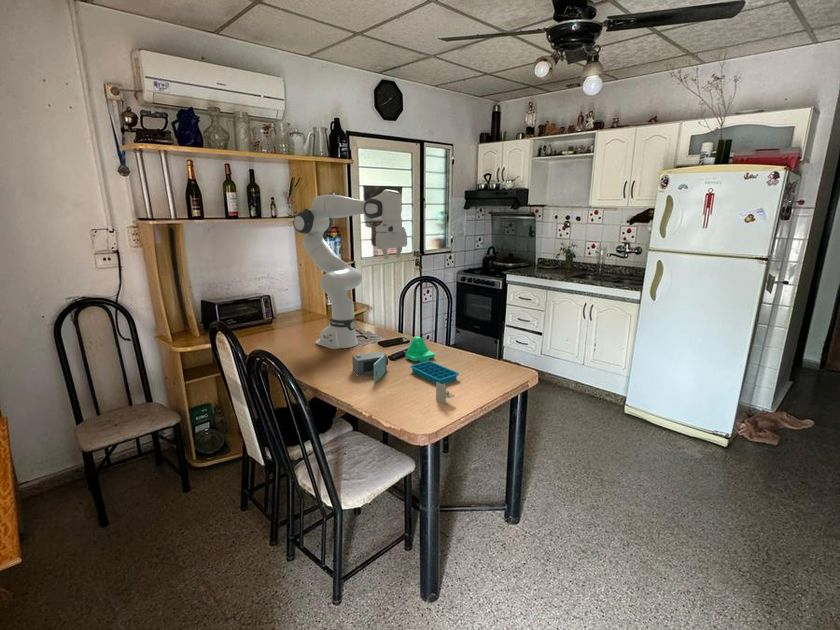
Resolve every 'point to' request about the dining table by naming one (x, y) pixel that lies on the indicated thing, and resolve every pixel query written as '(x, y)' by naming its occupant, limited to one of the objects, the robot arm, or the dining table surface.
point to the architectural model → (442, 393)
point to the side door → (379, 368)
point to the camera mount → (419, 350)
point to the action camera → (366, 363)
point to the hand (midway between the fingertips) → (392, 258)
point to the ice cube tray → (434, 372)
